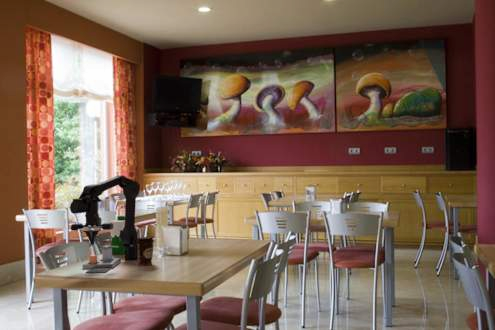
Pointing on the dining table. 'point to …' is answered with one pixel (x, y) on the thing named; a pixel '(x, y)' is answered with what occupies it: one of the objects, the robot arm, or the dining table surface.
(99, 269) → the mat
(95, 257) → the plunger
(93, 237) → the robot arm
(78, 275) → the dining table surface
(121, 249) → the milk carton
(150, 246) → the coffee cup
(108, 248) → the cartridge
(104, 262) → the housing
